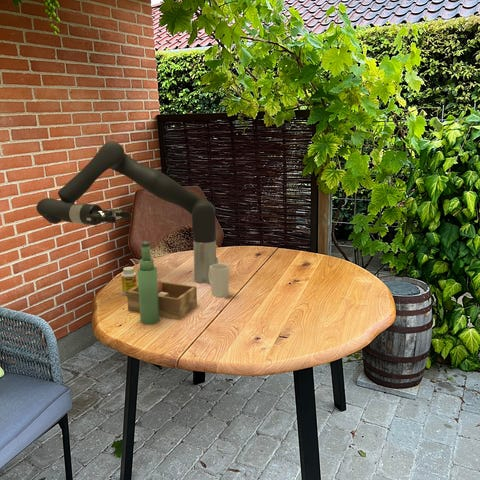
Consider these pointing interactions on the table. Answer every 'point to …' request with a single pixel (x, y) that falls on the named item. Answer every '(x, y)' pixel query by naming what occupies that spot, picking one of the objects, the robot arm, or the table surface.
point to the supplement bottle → (128, 279)
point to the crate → (168, 299)
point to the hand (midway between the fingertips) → (123, 217)
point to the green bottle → (148, 287)
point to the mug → (219, 279)
